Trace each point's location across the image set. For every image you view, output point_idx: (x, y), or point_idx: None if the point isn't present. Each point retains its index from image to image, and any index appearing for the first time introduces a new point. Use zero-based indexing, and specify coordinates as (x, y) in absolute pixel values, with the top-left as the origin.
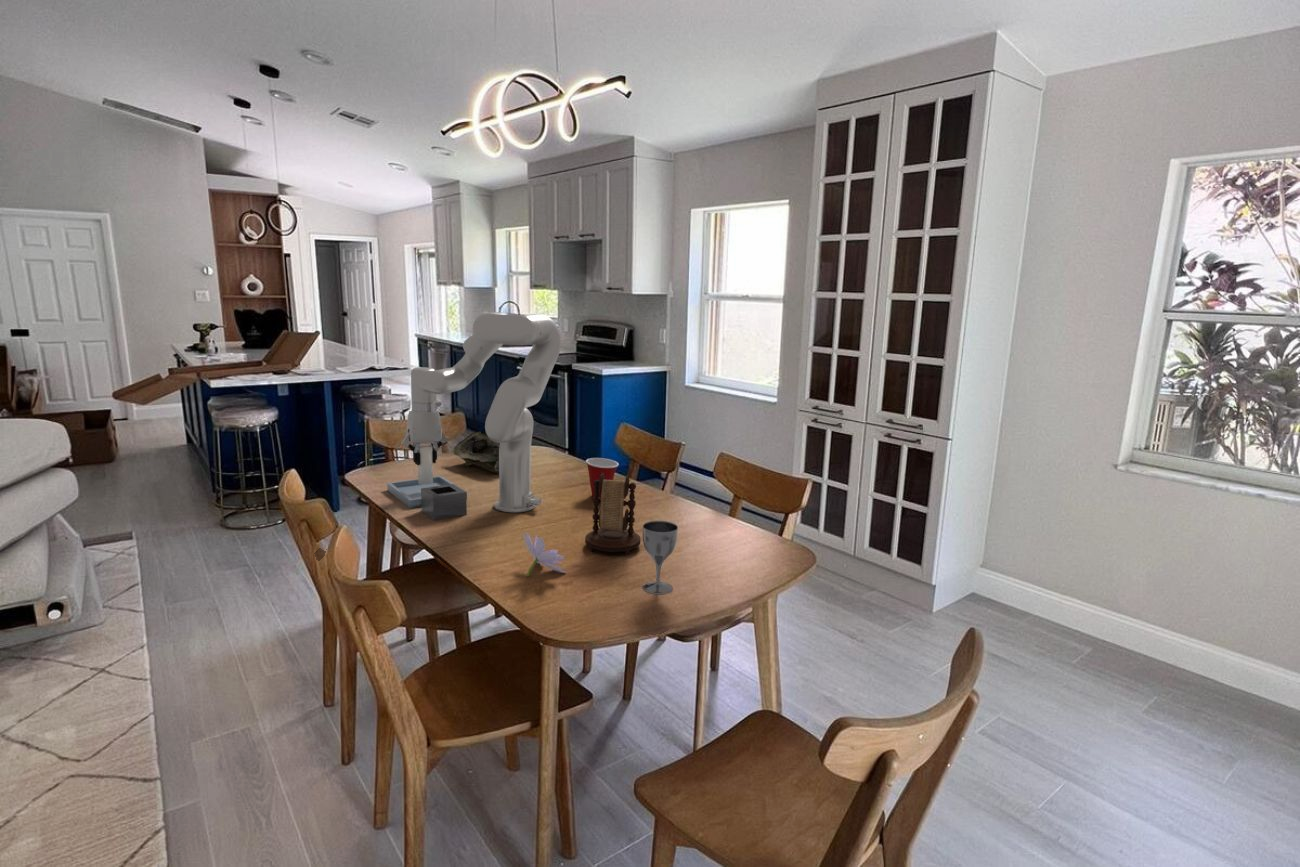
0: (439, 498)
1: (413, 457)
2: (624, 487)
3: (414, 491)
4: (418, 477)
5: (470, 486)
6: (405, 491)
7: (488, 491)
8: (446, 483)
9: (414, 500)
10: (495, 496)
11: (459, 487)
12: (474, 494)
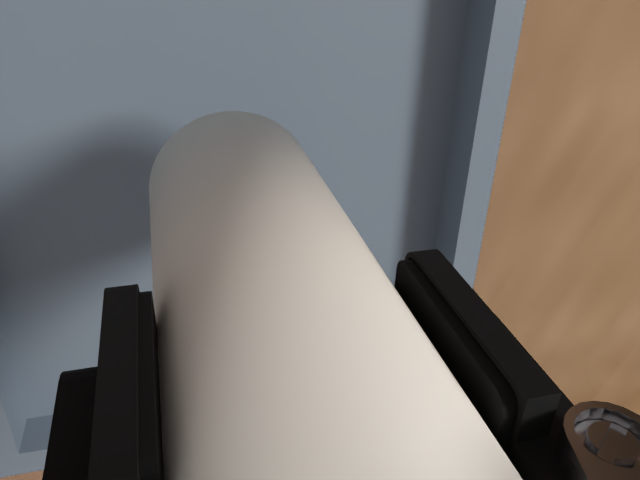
0: None
1: (56, 442)
2: None
3: (118, 70)
4: (150, 228)
5: (631, 68)
6: (17, 21)
7: (629, 247)
8: (476, 44)
9: (35, 465)
10: (587, 353)
11: (471, 285)
12: (525, 276)
